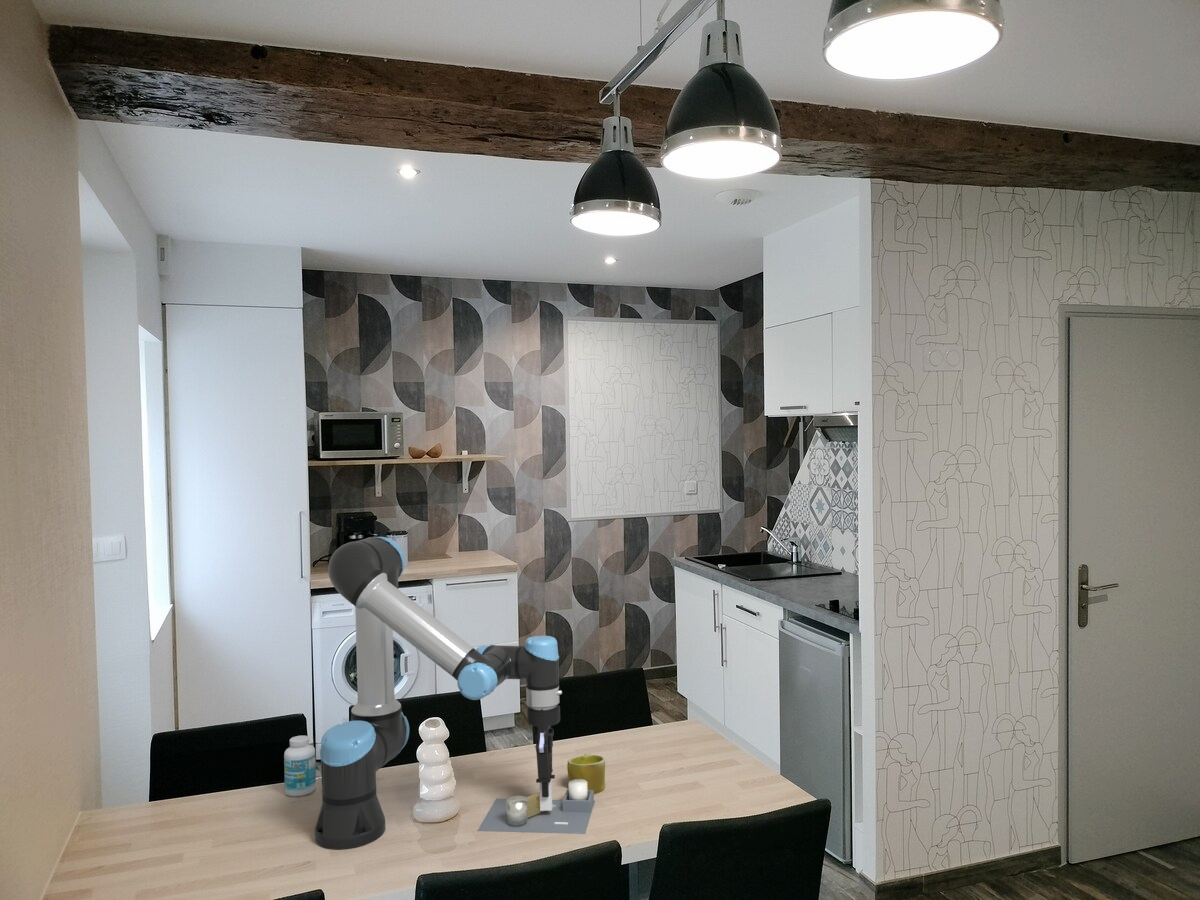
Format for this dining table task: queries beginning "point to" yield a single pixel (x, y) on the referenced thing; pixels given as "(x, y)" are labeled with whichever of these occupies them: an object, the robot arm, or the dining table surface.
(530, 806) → the grey and tan piece
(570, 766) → the mug
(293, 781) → the pill bottle
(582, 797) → the button
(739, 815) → the dining table surface
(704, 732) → the dining table surface
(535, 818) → the board
